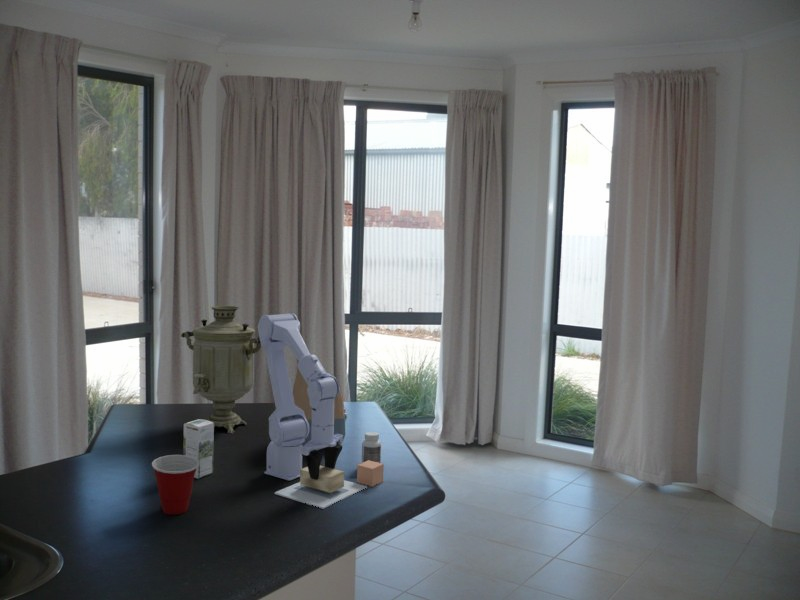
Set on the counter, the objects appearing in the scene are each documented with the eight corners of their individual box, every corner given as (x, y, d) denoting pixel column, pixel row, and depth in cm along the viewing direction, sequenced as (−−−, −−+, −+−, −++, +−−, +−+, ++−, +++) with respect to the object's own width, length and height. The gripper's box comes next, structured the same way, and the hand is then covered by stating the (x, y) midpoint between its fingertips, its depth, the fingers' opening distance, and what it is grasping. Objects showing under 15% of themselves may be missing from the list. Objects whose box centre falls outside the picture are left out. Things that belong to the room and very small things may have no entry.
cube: (357, 483, 200) (357, 464, 200) (368, 477, 205) (368, 460, 204) (372, 487, 198) (372, 468, 197) (383, 481, 202) (383, 463, 201)
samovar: (154, 428, 244) (153, 307, 240) (216, 412, 266) (216, 300, 261) (216, 446, 227) (217, 316, 223) (277, 428, 249) (279, 308, 244)
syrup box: (198, 469, 207) (198, 418, 206) (214, 473, 204) (214, 421, 203) (182, 475, 202) (182, 422, 201) (198, 479, 199) (198, 426, 198)
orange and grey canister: (347, 449, 229) (348, 374, 226) (292, 452, 225) (293, 375, 222) (338, 433, 245) (339, 363, 242) (286, 436, 241) (287, 364, 238)
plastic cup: (173, 523, 171) (173, 472, 170) (142, 512, 177) (141, 463, 175) (209, 508, 180) (209, 459, 179) (178, 498, 186) (177, 451, 185)
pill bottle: (384, 468, 212) (384, 434, 211) (367, 471, 209) (368, 437, 208) (374, 462, 217) (374, 429, 216) (358, 465, 214) (358, 432, 213)
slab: (300, 484, 194) (300, 469, 193) (314, 478, 198) (314, 463, 198) (330, 492, 188) (330, 477, 188) (343, 486, 193) (344, 471, 193)
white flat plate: (274, 493, 191) (274, 492, 191) (320, 474, 206) (320, 473, 205) (323, 508, 182) (323, 507, 182) (367, 487, 197) (367, 486, 197)
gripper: (316, 433, 183) (315, 486, 185) (352, 420, 195) (351, 471, 197) (294, 427, 187) (293, 480, 189) (331, 416, 199) (330, 465, 201)
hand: (321, 475), depth 193 cm, fingers closed on slab, 5 cm apart
